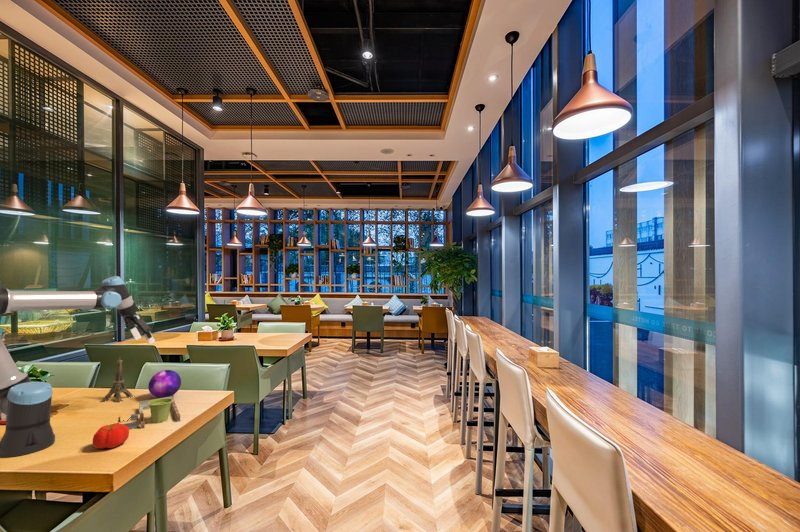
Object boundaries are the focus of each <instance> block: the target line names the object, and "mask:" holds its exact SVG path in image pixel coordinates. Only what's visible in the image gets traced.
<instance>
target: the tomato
mask: <svg viewBox="0 0 800 532" xmlns="http://www.w3.org/2000/svg"><path fill="white" fill-rule="evenodd" d="M122 424H123V423H121V422H120V423H119V422H115V423H110V424H106V425H103V426H101V427H100V428H99V429H97V431H96V432H95V433H94V435H93V438H92V445H93V446H94V447H95V448H97V449H100V450H102V449H106V448H107V449H113V448H115V447H118V446H120V445H123V444H125V442H126V441H127V440H128V438H129V437H130V436H129V434H130V429H129V428H128V427H127V426H125V425H122Z"/></svg>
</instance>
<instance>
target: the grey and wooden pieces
mask: <svg viewBox="0 0 800 532" xmlns="http://www.w3.org/2000/svg"><path fill="white" fill-rule="evenodd" d="M174 397H175V396H174V395H173V396H171V397H165V398H171V399H173V401H172V403H171V406H170V408H171V409H172V412H173V415H174V417H176V418H175V421H176V422H180V421H181V413H180V412H179V409H178V406H177V405H176V401H175V400H174V399H175V398H174ZM156 399H157V398H153V399H146V400H140V401H138V412H139V413H140V414H139V413H133V414H130V415H131V417H130V418H131V419H130V418H129V419H130V420H131V421H132V422H129V421H128V420H129V419H128V420H127V421H126V422H127V423H121V424H122V425H125V426H127V427H128V428H129V430H132V428H134V429H138V428H137V427H139V428H140V429H141V428H142V429H145V420H144V417H145V415H144V412H143V409H144V410H149V408H150V406H149V404H148V403H149V402H150V401H153V400H156ZM158 399H162V398H158ZM134 419H137V420H138V421H135V420H134ZM123 421H124V420H123ZM139 422H140V423H139Z"/></svg>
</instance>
